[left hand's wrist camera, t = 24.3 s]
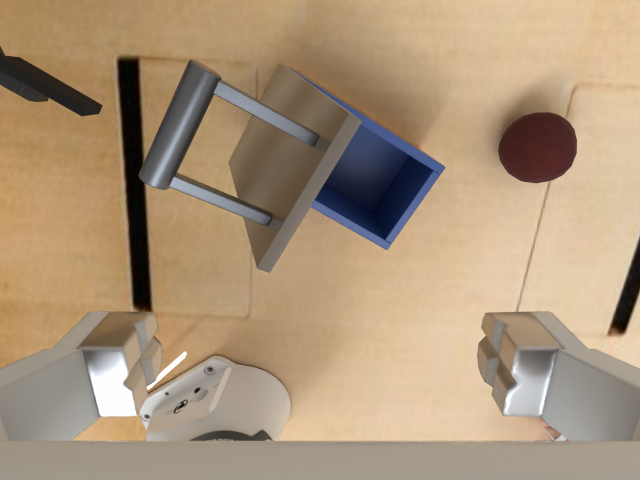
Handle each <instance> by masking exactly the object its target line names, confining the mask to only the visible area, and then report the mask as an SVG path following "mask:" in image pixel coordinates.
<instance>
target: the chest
mask: <svg viewBox="0 0 640 480" xmlns="http://www.w3.org/2000/svg"><path fill="white" fill-rule="evenodd" d="M287 67H288V66H287ZM288 68H290V67H288ZM290 69H291V70H292V71H294V72H295V73H296V74H298V75H299V76H301V77H302V78H303V79H305V80H306V81H308V82H309V83H310V84H312V85H313V86H315V87H316V88H317V89H319V90H320V91H321V92H323V93H324V94H326V95H327V96H328V97H330V98H331V99H333V100H334V101H335V102H337V103H338V104H339V105H341V106H342V107H344V108H345V109H346V110H348V111H349V112H351V113H352V114H353V115H355V116H356V117H358V118H359V119H360V120H362V123H361V124H360V126H359V127H358V129H357V131H356V132H355V134H354V136H353V137H352V139H351V141H350V142H349V144H348V146H347V147H346V149H345V150H344V152H343V154H342V155H341V157H340V159H339V160H338V162H337V164H336V165H335V167H334V168H333V170H332V172H331V173H330V175H329V177H328V178H327V180H326V182H325V183H324V185H323V187H322V188H321V190H320V191H319V193H318V195H317V196H316V198H315V200H314V201H313V203H312V205H311V206H310V207H312V208H314V209H315V210H317V211H319V212H321V213H322V214H324V215H326V216H328V217H329V218H331V219H333V220H335V221H336V222H338V223H340V224H342V225H343V226H345V227H347V228H349V229H351V230H352V231H354V232H356V233H358V234H359V235H361V236H363V237H365V238H366V239H368V240H370V241H372V242H373V243H375V244H377V245H379V246H380V247H382V248H384V249H386V250H388V248H389V247H390V245H391V243H392V242H393V241H394V240H395V238H396V237H397V235H398V234H399V232H400V231H401V230H402V228H403V227H404V225H405V224H406V223H407V221H408V220H409V218H410V217H411V215H412V214H413V213H414V211H415V210H416V208H417V207H418V206H419V204H420V203H421V201H422V200H423V199H424V197H425V196H426V194H427V193H428V191H429V190H430V189H431V187H432V186H433V184H434V183H435V182H436V180H437V179H438V177H439V176H440V174H441V173H442V172H443V170H444V169H445V166H443V165H442V164H440V163H439V162H437V161H436V160H435V159H433V158H432V157H430V156H429V155H427V154H426V153H425V152H423V151H422V150H421V149H419V148H417V147H416V146H414V145H413V144H411V143H410V142H408V141H406V140H405V139H403V138H402V137H400V136H399V135H397V134H395V133H394V132H392V131H391V130H389V129H388V128H386V127H384V126H383V125H381V124H380V123H378V122H377V121H375V120H373V119H372V118H370V117H369V116H367V115H365V114H364V113H362V112H361V111H359V110H358V109H356V108H354V107H353V106H351V105H350V104H348V103H347V102H345V101H343V100H342V99H340V98H339V97H337V96H336V95H334V94H332V93H331V92H329V91H328V90H326V89H325V88H323V87H321V86H320V85H318V84H317V83H315V82H313V81H312V80H310V79H309V78H307V77H306V76H304V75H302V74H301V73H299V72H298V71H296V70H295V69H293V68H290Z"/></svg>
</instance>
